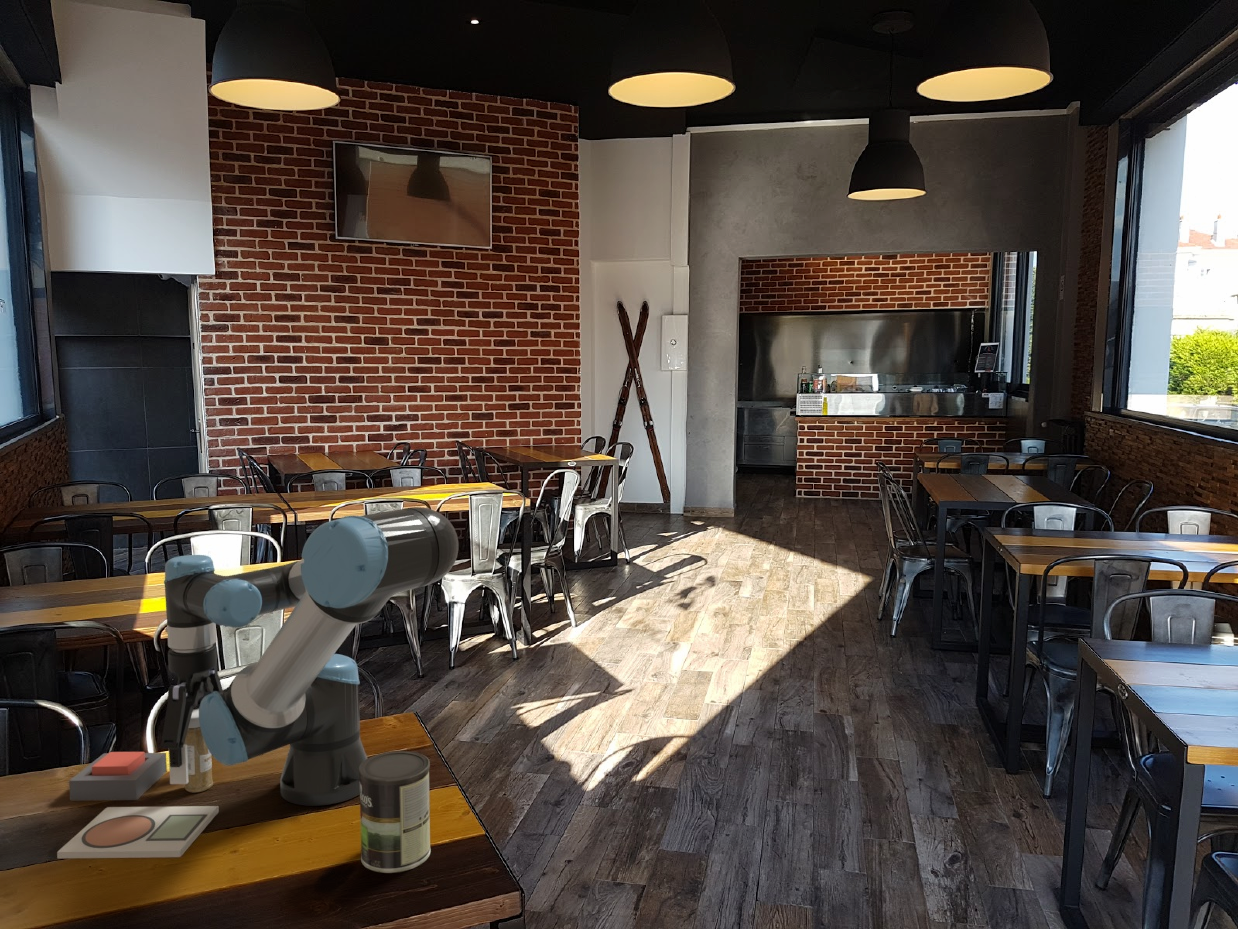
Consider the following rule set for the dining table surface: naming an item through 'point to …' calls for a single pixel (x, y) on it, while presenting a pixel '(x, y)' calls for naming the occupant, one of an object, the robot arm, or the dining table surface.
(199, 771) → the spice jar
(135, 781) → the button housing
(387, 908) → the dining table surface
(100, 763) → the button
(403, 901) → the dining table surface
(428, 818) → the coffee can
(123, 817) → the picture board
